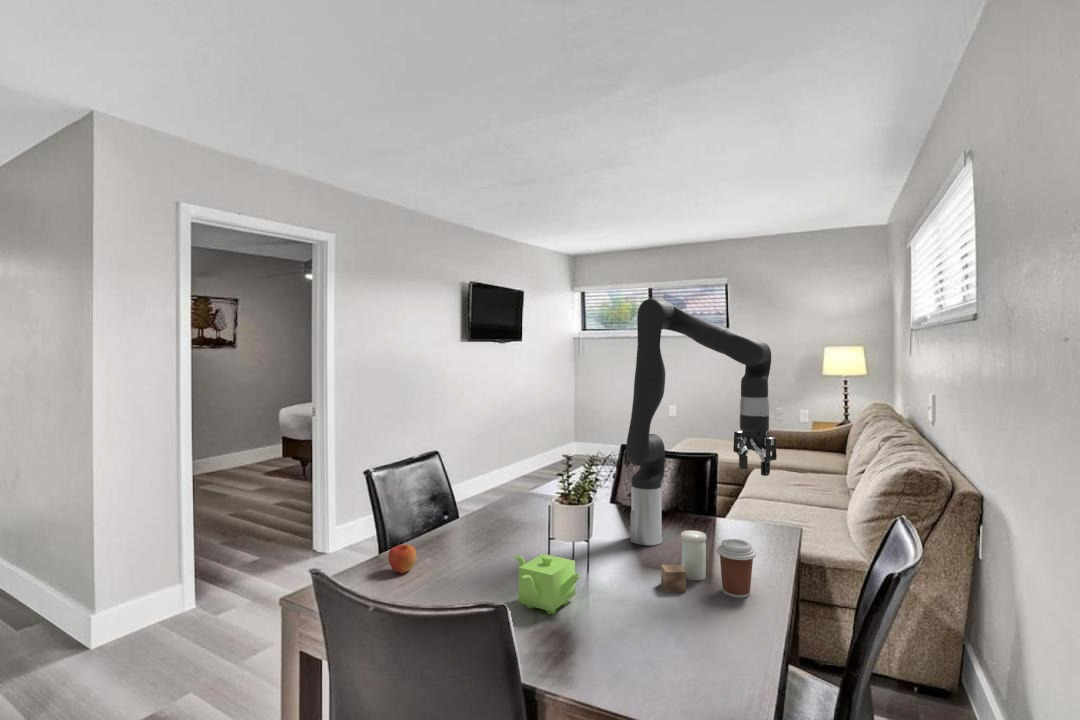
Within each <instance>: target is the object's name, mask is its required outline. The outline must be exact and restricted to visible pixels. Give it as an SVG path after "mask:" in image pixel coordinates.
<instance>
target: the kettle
mask: <svg viewBox="0 0 1080 720" xmlns="http://www.w3.org/2000/svg"><path fill="white" fill-rule="evenodd" d="M513 557H514V558H515V559H516V560H517V562H518V563H519V567H518V604H521V605H526V608H527V609H535V608H537V609H540V610H544V611H546V614H548V615H555V614H556V613H557V609H558V608H560V607H561V606H566V605H568V604H569V601H570V599H572V598H573V597H575V595H576V583H577V581H578V580H579V578H580V577H581V575H580V574H578V573H576V561H575V560H572V559H568V558H565V557H559V556H555V555H550V554H545V553H541V554H540V555H538V556H537V557H534V558H533V559H531V560H529V561H528V562H526V560H525V558H523V556H521V555H519V554H518V555H517V554H514V555H513Z"/></svg>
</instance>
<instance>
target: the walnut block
mask: <svg viewBox="0 0 1080 720" xmlns="http://www.w3.org/2000/svg"><path fill="white" fill-rule="evenodd" d="M660 566H661V567H660V571H661V572H660V578H661V579H660V583H661V586H662V588H663V590H664V592H666V593H686V592H687V579H686V571H685V570H684V568H683V567H682V563H681V564H676V563H675V564H660Z"/></svg>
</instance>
